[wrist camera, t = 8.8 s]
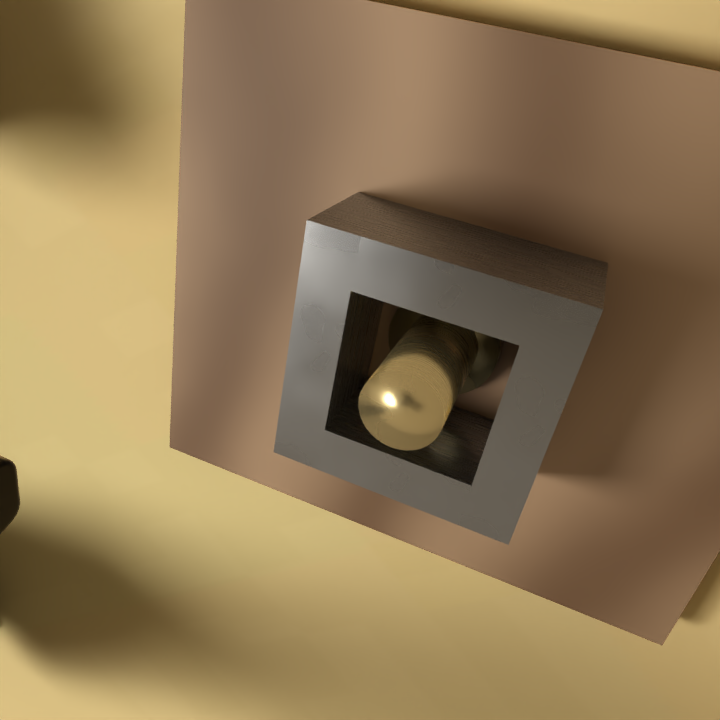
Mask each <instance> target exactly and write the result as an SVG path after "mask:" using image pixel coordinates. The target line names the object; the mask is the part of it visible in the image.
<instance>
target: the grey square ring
mask: <svg viewBox="0 0 720 720" xmlns="http://www.w3.org/2000/svg"><path fill="white" fill-rule="evenodd" d="M607 269H608V263H607V262H603V261H600V260H596V259H593V258H589V257H586V256H582V255H579V254H575V253H572V252H568V251H565V250H561V249H558V248H554V247H551V246H547V245H544V244H540V243H537V242H533V241H530V240H526V239H523V238H519V237H516V236H512V235H509V234H505V233H502V232H498V231H495V230H491V229H488V228H484V227H481V226H477V225H474V224H470V223H467V222H463V221H459V220H456V219H452V218H449V217H445V216H442V215H438V214H435V213H431V212H428V211H424V210H421V209H417V208H414V207H410V206H407V205H403V204H400V203H396V202H393V201H389V200H386V199H382V198H379V197H375V196H372V195H368V194H365V193H361V192H357V193H355V194H354V195H352V196H350V197H348V198H346V199H344V200H343V201H341V202H339V203H337V204H335V205H333V206H332V207H330V208H328V209H326V210H324V211H322V212H321V213H319V214H317V215H315V216H313V217H311V218H310V219H308V220H307V222H306V229H305V236H304V243H303V250H302V256H301V263H300V270H299V277H298V284H297V291H296V298H295V305H294V312H293V319H292V326H291V333H290V340H289V347H288V354H287V361H286V368H285V375H284V382H283V389H282V396H281V403H280V410H279V417H278V424H277V431H276V438H275V445H274V453H277V454H279V455H282V456H285V457H287V458H290V459H292V460H295V461H297V462H300V463H302V464H305V465H307V466H310V467H312V468H315V469H317V470H320V471H322V472H325V473H328V474H330V475H333V476H335V477H338V478H340V479H343V480H345V481H348V482H350V483H353V484H355V485H358V486H360V487H363V488H365V489H368V490H370V491H373V492H376V493H378V494H381V495H383V496H386V497H388V498H391V499H393V500H396V501H398V502H401V503H403V504H406V505H408V506H411V507H413V508H416V509H419V510H421V511H424V512H426V513H429V514H431V515H434V516H436V517H439V518H441V519H444V520H446V521H449V522H451V523H454V524H456V525H459V526H462V527H464V528H467V529H469V530H472V531H474V532H477V533H479V534H482V535H484V536H487V537H489V538H492V539H494V540H497V541H499V542H502V543H504V544H507V545H509V542H510V540H511V537H512V535H513V533H514V530H515V528H516V525H517V523H518V520H519V518H520V515H521V513H522V510H523V508H524V505H525V503H526V500H527V498H528V495H529V493H530V490H531V488H532V485H533V483H534V480H535V478H536V475H537V473H538V470H539V468H540V466H541V463H542V461H543V458H544V456H545V453H546V451H547V448H548V446H549V443H550V441H551V438H552V436H553V433H554V431H555V428H556V426H557V423H558V421H559V418H560V416H561V413H562V411H563V408H564V406H565V403H566V401H567V399H568V396H569V394H570V391H571V389H572V386H573V384H574V381H575V379H576V376H577V374H578V371H579V369H580V366H581V364H582V361H583V359H584V356H585V354H586V351H587V349H588V346H589V344H590V341H591V339H592V336H593V334H594V332H595V329H596V327H597V324H598V322H599V319H600V317H601V314H602V312H603V308H604V299H605V289H606V279H607ZM384 302H386V303H389V304H392V305H395V306H399V307H402V308H405V309H408V310H411V311H414V312H417V313H420V314H423V315H426V316H429V317H433V318H436V319H439V320H442V321H445V322H448V323H451V324H454V325H457V326H460V327H464V328H467V329H470V330H473V331H476V332H479V333H482V334H485V335H488V336H491V337H494V338H498V339H501V340H504V341H507V342H510V343H513V344H516V345H519V349H518V352H517V355H516V358H515V361H514V364H513V367H512V369H511V372H510V375H509V378H508V381H507V384H506V387H505V390H504V393H503V396H502V399H501V401H500V404H499V407H498V410H497V413H496V416H495V419H491V418H488V417H485V416H482V415H479V414H477V413H474V412H471V411H468V410H465V409H462V408H460V407H457V406H454V405H453V407H452V409H451V412H450V414H449V416H448V418H447V420H446V422H445V424H444V426H443V428H442V430H441V432H440V434H439V435H438V437H437V438H436V439H435V440H434V441H433V442H432V443H431V444H429V445H428V446H426V447H424V448H421V449H417V450H399V449H395V448H392V447H389V446H387V445H385V444H383V443H381V442H380V441H379V440H377V439H376V438H375V437H374V436H373V435H372V434H371V433H370V432H369V431H368V430H367V428H366V427H365V425H364V424H363V422H362V419H361V417H360V413H359V408H358V401H359V396H360V392H361V390H362V388H363V387H364V385H365V384H366V383H367V381H368V380H369V379H370V377H371V376H369V375H368V373H369V368H370V364H371V359H372V354H373V350H374V345H375V341H376V336H377V331H378V327H379V322H380V318H381V313H382V308H383V304H384Z"/></svg>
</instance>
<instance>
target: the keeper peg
mask: <svg viewBox="0 0 720 720" xmlns="http://www.w3.org/2000/svg"><path fill="white" fill-rule="evenodd" d="M388 342H389V348H390V353H389V354H388V356H387V357H386V358H385V359H384V361H383V362H382V363H381V365H380V366H379V367H378V368H377V370H376V371H375V372H374V374H373V375H372V376H371V377H370V379H369V380H368V381H367V383H366V384H365V385H364V387H363V388H362V390H361V392H360V396H359V401H358V408H359V413H360V417H361V419H362V422H363V424H364V425H365V427H366V428H367V430H368V431H369V432H370V433H371V434H372V435H373V436H374V437H375V438H376V439H377V440H379V441H380V442H381V443H383V444H385V445H387V446H389V447H392V448H395V449H399V450H417V449H421V448H424V447H426V446H428V445H429V444H431V443H432V442H433V441H434V440H435V439H436V438H437V437H438V435H439V434H440V432H441V430H442V428H443V426H444V424H445V422H446V420H447V418H448V416H449V414H450V412H451V409H452V407H453V405H454V403H455V401H456V399H457V397H458V395H459V394H463V393H466V392H469V391H472V390H474V389H476V388H477V387H479V386H480V385H482V384H483V383H484V382H485V381H486V380H487V379H488V378H489V377H490V375H491V374H492V372H493V371H494V369H495V366H496V364H497V362H498V359H499V357H500V354H501V350H502V343H503V340H501V339H498V338H494V337H491V336H488V335H485V334H482V333H479V332H476V331H473V330H470V329H467V328H464V327H460V326H457V325H454V324H451V323H448V322H445V321H442V320H439V319H436V318H433V317H429V316H426V315H423V314H420V313H417V312H414V311H411V310H408V309H405V308H402V307H400V308H399V309H398V310H397V311H396V313H395V314H394V316H393V318H392V321H391V324H390V327H389V334H388Z"/></svg>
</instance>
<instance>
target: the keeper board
mask: <svg viewBox="0 0 720 720" xmlns="http://www.w3.org/2000/svg"><path fill="white" fill-rule="evenodd" d="M357 192H361V193H365V194H368V195H372V196H375V197H379V198H382V199H386V200H389V201H393V202H396V203H400V204H403V205H407V206H410V207H414V208H417V209H421V210H424V211H428V212H431V213H435V214H438V215H442V216H445V217H449V218H452V219H456V220H459V221H463V222H467V223H470V224H474V225H477V226H481V227H484V228H488V229H491V230H495V231H498V232H502V233H505V234H509V235H512V236H516V237H519V238H523V239H526V240H530V241H533V242H537V243H540V244H544V245H547V246H551V247H554V248H558V249H561V250H565V251H568V252H572V253H575V254H579V255H582V256H586V257H589V258H593V259H596V260H600V261H603V262H607V263H608V269H607V279H606V289H605V299H604V308H603V312H602V314H601V317H600V319H599V322H598V324H597V327H596V329H595V332H594V334H593V336H592V339H591V341H590V344H589V346H588V349H587V351H586V354H585V356H584V359H583V361H582V364H581V366H580V369H579V371H578V374H577V376H576V379H575V381H574V384H573V386H572V389H571V391H570V394H569V396H568V399H567V401H566V403H565V406H564V408H563V411H562V413H561V416H560V418H559V421H558V423H557V426H556V428H555V431H554V433H553V436H552V438H551V441H550V443H549V446H548V448H547V451H546V453H545V456H544V458H543V461H542V463H541V466H540V468H539V470H538V473H537V475H536V478H535V480H534V483H533V485H532V488H531V490H530V493H529V495H528V498H527V500H526V503H525V505H524V508H523V510H522V513H521V515H520V518H519V520H518V523H517V525H516V528H515V530H514V533H513V535H512V537H511V540H510V542H509V545H507V544H504V543H502V542H499V541H497V540H494V539H492V538H489V537H487V536H484V535H482V534H479V533H477V532H474V531H472V530H469V529H467V528H464V527H462V526H459V525H456V524H454V523H451V522H449V521H446V520H444V519H441V518H439V517H436V516H434V515H431V514H429V513H426V512H424V511H421V510H419V509H416V508H413V507H411V506H408V505H406V504H403V503H401V502H398V501H396V500H393V499H391V498H388V497H386V496H383V495H381V494H378V493H376V492H373V491H370V490H368V489H365V488H363V487H360V486H358V485H355V484H353V483H350V482H348V481H345V480H343V479H340V478H338V477H335V476H333V475H330V474H328V473H325V472H322V471H320V470H317V469H315V468H312V467H310V466H307V465H305V464H302V463H300V462H297V461H295V460H292V459H290V458H287V457H285V456H282V455H279V454H277V453H274V445H275V438H276V431H277V424H278V417H279V410H280V403H281V396H282V389H283V382H284V375H285V368H286V361H287V354H288V347H289V340H290V333H291V326H292V319H293V312H294V305H295V298H296V291H297V284H298V277H299V270H300V263H301V256H302V250H303V243H304V236H305V229H306V222H307V220H308V219H310V218H311V217H313V216H315V215H317V214H319V213H321V212H322V211H324V210H326V209H328V208H330V207H332V206H333V205H335V204H337V203H339V202H341V201H343V200H344V199H346V198H348V197H350V196H352V195H354V194H355V193H357ZM399 308H400V307H399V306H395V305H392V304H389V303H386V302H384V304H383V308H382V313H381V318H380V322H379V327H378V331H377V336H376V341H375V345H374V350H373V354H372V359H371V364H370V368H369V373H368V375H369V376H372V375H373V374H374V372H375V371H376V370H377V368H378V367H379V366H380V365H381V363H382V362H383V361H384V359H385V358H386V357H387V356H388V354H389V353H390V348H389V342H388V334H389V327H390V324H391V321H392V318H393V316H394V314H395V313H396V311H397V310H398V309H399ZM518 349H519V345H516V344H513V343H510V342H507V341H504V340H503V343H502V350H501V354H500V357H499V359H498V362H497V364H496V366H495V369H494V371H493V372H492V374H491V375H490V377H489V378H488V379H487V380H486V381H485V382H484V383H483V384H482V385H480V386H479V387H477V388H476V389H474V390H472V391H469V392H466V393H463V394H459V395H458V397H457V399H456V401H455V403H454V406H457V407H460V408H462V409H465V410H468V411H471V412H474V413H477V414H479V415H482V416H485V417H488V418H491V419H495V416H496V413H497V410H498V407H499V404H500V401H501V399H502V396H503V393H504V390H505V387H506V384H507V381H508V378H509V375H510V372H511V369H512V367H513V364H514V361H515V358H516V355H517V352H518ZM170 447H171V448H173V449H176V450H178V451H181V452H183V453H186V454H188V455H191V456H193V457H196V458H198V459H200V460H203V461H205V462H208V463H210V464H213V465H215V466H218V467H220V468H223V469H225V470H228V471H230V472H233V473H235V474H238V475H240V476H243V477H245V478H248V479H250V480H253V481H255V482H258V483H260V484H263V485H265V486H268V487H270V488H272V489H275V490H277V491H280V492H282V493H285V494H287V495H290V496H292V497H295V498H297V499H300V500H302V501H305V502H307V503H310V504H312V505H315V506H317V507H320V508H322V509H325V510H327V511H330V512H332V513H335V514H337V515H340V516H342V517H345V518H347V519H349V520H352V521H354V522H357V523H359V524H362V525H364V526H367V527H369V528H372V529H374V530H377V531H379V532H382V533H384V534H387V535H389V536H392V537H394V538H397V539H399V540H402V541H404V542H407V543H409V544H412V545H414V546H417V547H419V548H421V549H424V550H426V551H429V552H431V553H434V554H436V555H439V556H441V557H444V558H446V559H449V560H451V561H454V562H456V563H459V564H461V565H464V566H466V567H469V568H471V569H474V570H476V571H479V572H481V573H484V574H486V575H489V576H491V577H494V578H496V579H498V580H501V581H503V582H506V583H508V584H511V585H513V586H516V587H518V588H521V589H523V590H526V591H528V592H531V593H533V594H536V595H538V596H541V597H543V598H546V599H548V600H551V601H553V602H556V603H558V604H561V605H563V606H566V607H568V608H570V609H573V610H575V611H578V612H580V613H583V614H585V615H588V616H590V617H593V618H595V619H598V620H600V621H603V622H605V623H608V624H610V625H613V626H615V627H618V628H620V629H623V630H625V631H628V632H630V633H633V634H635V635H638V636H640V637H642V638H645V639H647V640H650V641H652V642H655V643H657V644H660V645H663V643H664V641H665V640H666V638H667V637H668V635H669V633H670V632H671V630H672V628H673V627H674V625H675V623H676V622H677V620H678V619H679V617H680V615H681V614H682V612H683V610H684V609H685V607H686V606H687V604H688V602H689V601H690V599H691V597H692V596H693V594H694V593H695V591H696V589H697V588H698V586H699V584H700V583H701V581H702V579H703V578H704V576H705V575H706V573H707V571H708V570H709V568H710V566H711V565H712V563H713V562H714V560H715V558H716V557H717V555H718V553H719V552H720V71H718V70H713V69H708V68H703V67H698V66H693V65H688V64H683V63H678V62H673V61H668V60H663V59H658V58H653V57H648V56H643V55H638V54H633V53H628V52H623V51H618V50H613V49H608V48H603V47H599V46H594V45H589V44H584V43H579V42H574V41H569V40H564V39H559V38H554V37H549V36H544V35H539V34H534V33H529V32H524V31H519V30H514V29H509V28H504V27H499V26H494V25H489V24H485V23H480V22H475V21H470V20H465V19H460V18H455V17H450V16H445V15H440V14H435V13H430V12H425V11H420V10H415V9H410V8H405V7H400V6H395V5H390V4H385V3H380V2H375V1H370V0H186V3H185V31H184V59H183V87H182V115H181V143H180V171H179V199H178V227H177V255H176V283H175V311H174V340H173V368H172V396H171V424H170Z"/></svg>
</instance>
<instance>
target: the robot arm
mask: <svg viewBox="0 0 720 720" xmlns="http://www.w3.org/2000/svg"><path fill="white" fill-rule="evenodd" d="M19 506H20V496H19V487H18V479H17V470H16V466H15V464H14V463H13V462H12V461H11V460H9V459H7V458H4V457H2V456H0V534H1V533H2V532H3V531H4V530H5V528H6V527H7V526H8V525H9V524H10V523H11V522H12V520H13V519H14V518H15V516H16V514H17V512H18V510H19Z"/></svg>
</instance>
